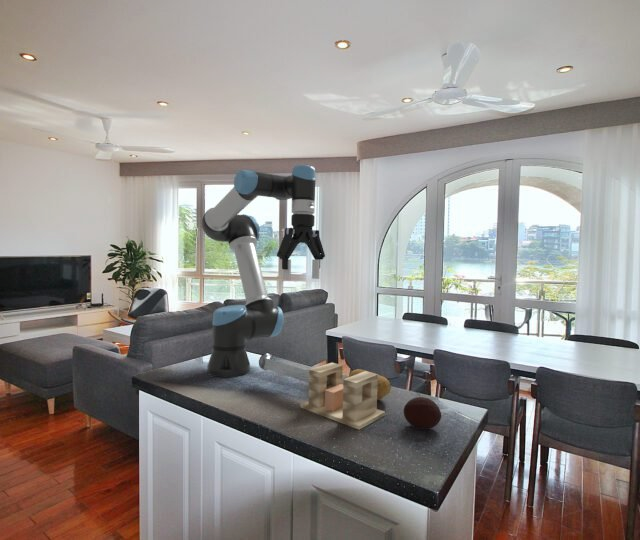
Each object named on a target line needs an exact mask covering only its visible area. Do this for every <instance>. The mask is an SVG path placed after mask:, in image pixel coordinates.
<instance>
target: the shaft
mask: <svg viewBox="0 0 640 540" xmlns="http://www.w3.org/2000/svg"><path fill="white" fill-rule="evenodd" d="M258 367H259V368H260V369H261V370H264V371H267V370H268V371H271V372H274V373H277V374H280V375H283V376H285V377H286V376H287V377H290V378H291V379H295V380H298V381H302V382H304V383H308V384H309V369H313V368H315V367H313V366H309V365H305V364H302V363H300V362H296V361H292V360H288V359H285V358H281V357H279V356H275V355H272V354H271V353H268V352H267V353H266V352H265V353H262V354H261V356H260V357H259V359H258ZM329 379H330V374H329V375H327V385H328V384H329Z"/></svg>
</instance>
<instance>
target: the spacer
mask: <svg viewBox="0 0 640 540" xmlns="http://www.w3.org/2000/svg"><path fill="white" fill-rule="evenodd" d="M341 407H343V383H342V384H339V385H337V386H334V387H332V388H329V389H326V390H325V408H326V409H329V410H331V411H334V410H337V409H339V408H341Z"/></svg>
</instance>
